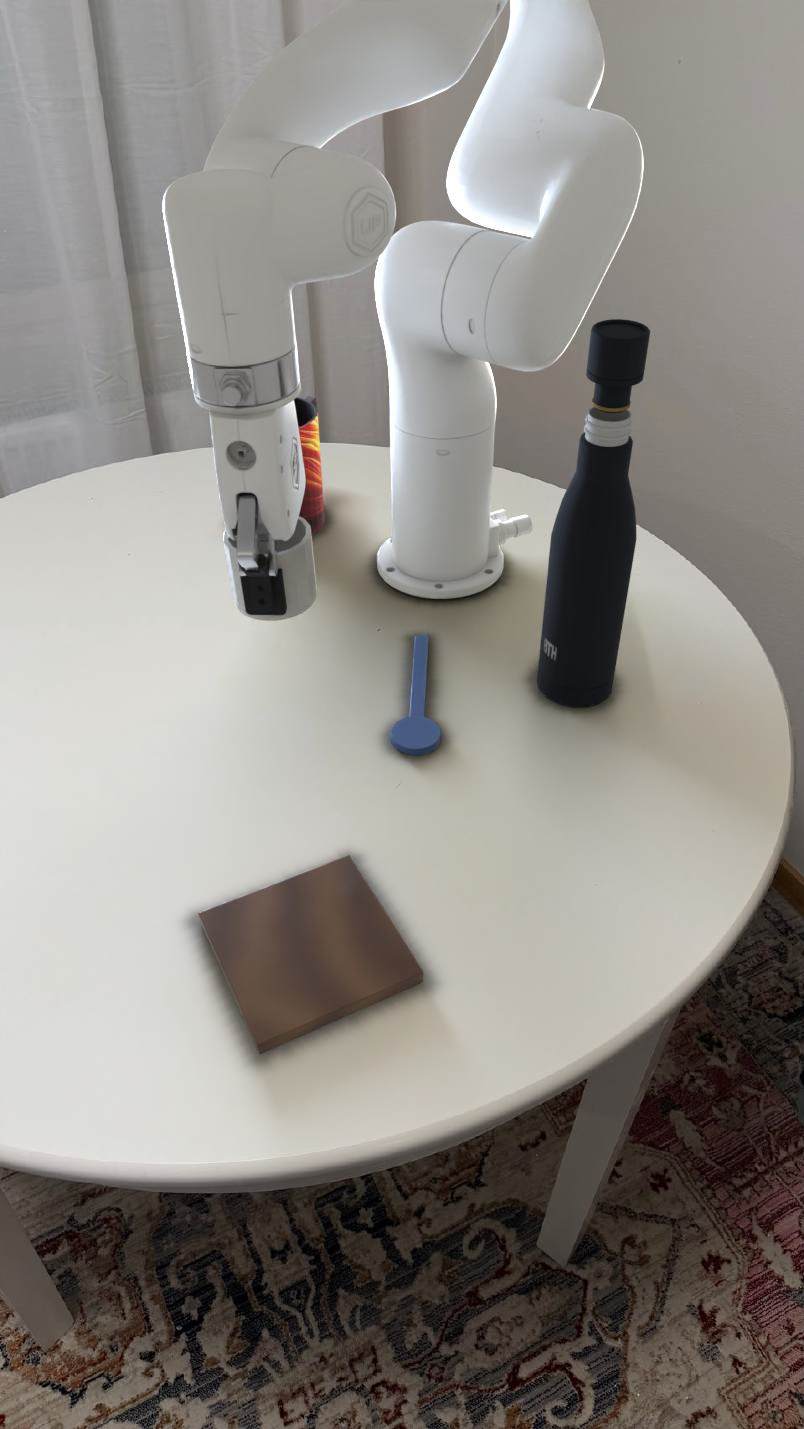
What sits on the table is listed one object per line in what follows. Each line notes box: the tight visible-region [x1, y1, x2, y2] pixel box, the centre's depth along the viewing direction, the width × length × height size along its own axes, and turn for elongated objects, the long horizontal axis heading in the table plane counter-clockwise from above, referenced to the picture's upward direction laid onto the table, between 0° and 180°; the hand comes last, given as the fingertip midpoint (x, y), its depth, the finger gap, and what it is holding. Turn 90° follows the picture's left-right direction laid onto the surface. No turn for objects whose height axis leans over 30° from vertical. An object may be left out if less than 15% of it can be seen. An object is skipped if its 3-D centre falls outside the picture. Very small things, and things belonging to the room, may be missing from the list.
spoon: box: [390, 634, 442, 756], centre depth 85 cm, size 16×4×1 cm, turn 177°
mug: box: [294, 395, 326, 537], centre depth 105 cm, size 10×14×12 cm
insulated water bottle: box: [536, 318, 651, 708], centre depth 76 cm, size 6×6×30 cm
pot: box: [222, 516, 318, 622], centre depth 81 cm, size 7×7×6 cm
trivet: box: [197, 854, 424, 1055], centre depth 65 cm, size 11×11×1 cm
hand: (273, 583), depth 82 cm, fingers closed on pot, 7 cm apart
